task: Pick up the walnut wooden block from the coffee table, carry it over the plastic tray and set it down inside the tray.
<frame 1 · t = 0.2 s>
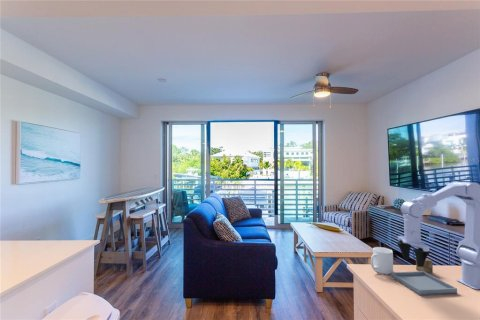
hand: (413, 262, 103), 10 cm above the worktop, tool pointing down, fingers open, 7 cm apart
cup: (380, 271, 118), on the worktop
tray: (421, 284, 104), on the worktop
block: (424, 271, 117), on the worktop
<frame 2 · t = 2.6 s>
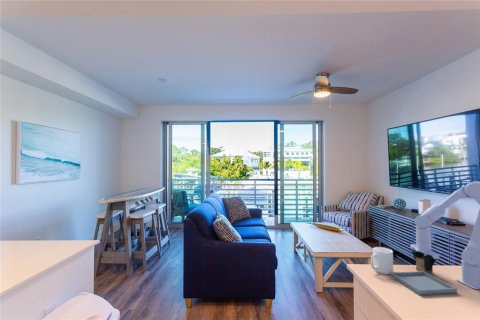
hand: (424, 268, 117), 1 cm above the worktop, tool pointing down, fingers closed on block, 4 cm apart
block: (424, 271, 117), on the worktop, touching gripper
everything else where it was.
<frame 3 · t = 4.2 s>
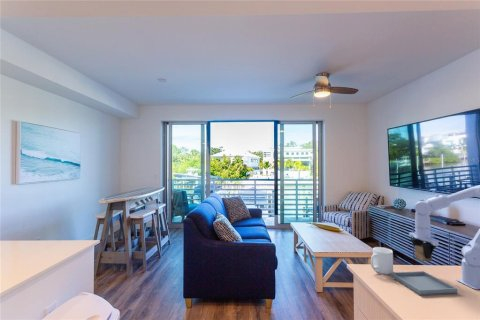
hand: (423, 256, 114), 8 cm above the worktop, tool pointing down, fingers closed on block, 4 cm apart
block: (423, 259, 114), point 7 cm above the worktop, touching gripper
everything else where it was.
when the fingers open (4 cm above the worktop, at t = 6.2 s): block drops 2 cm, resting on tray.
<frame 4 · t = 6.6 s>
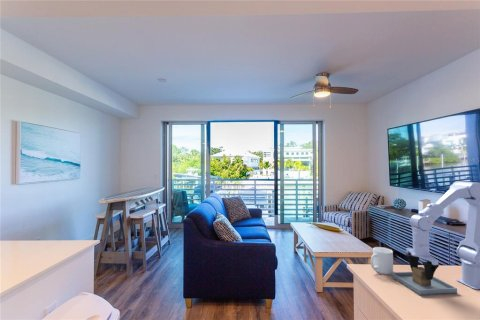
hand: (421, 275, 104), 4 cm above the worktop, tool pointing down, fingers open, 7 cm apart
block: (421, 283, 104), point 1 cm above the worktop, touching tray
everything else where it was.
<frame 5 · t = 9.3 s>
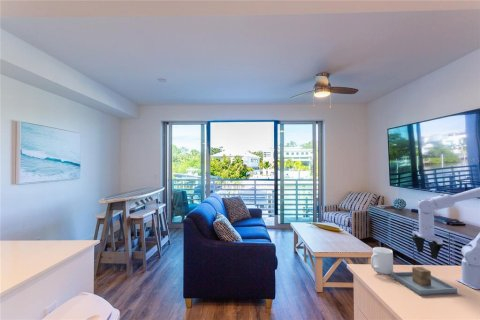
hand: (427, 254, 113), 9 cm above the worktop, tool pointing down, fingers open, 7 cm apart
nothing on the worktop moved.
at the end: block inside the target area on the tray (0.0 cm from its centre), point 0.6 cm above the tray's base; the gripper is holding nothing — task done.
